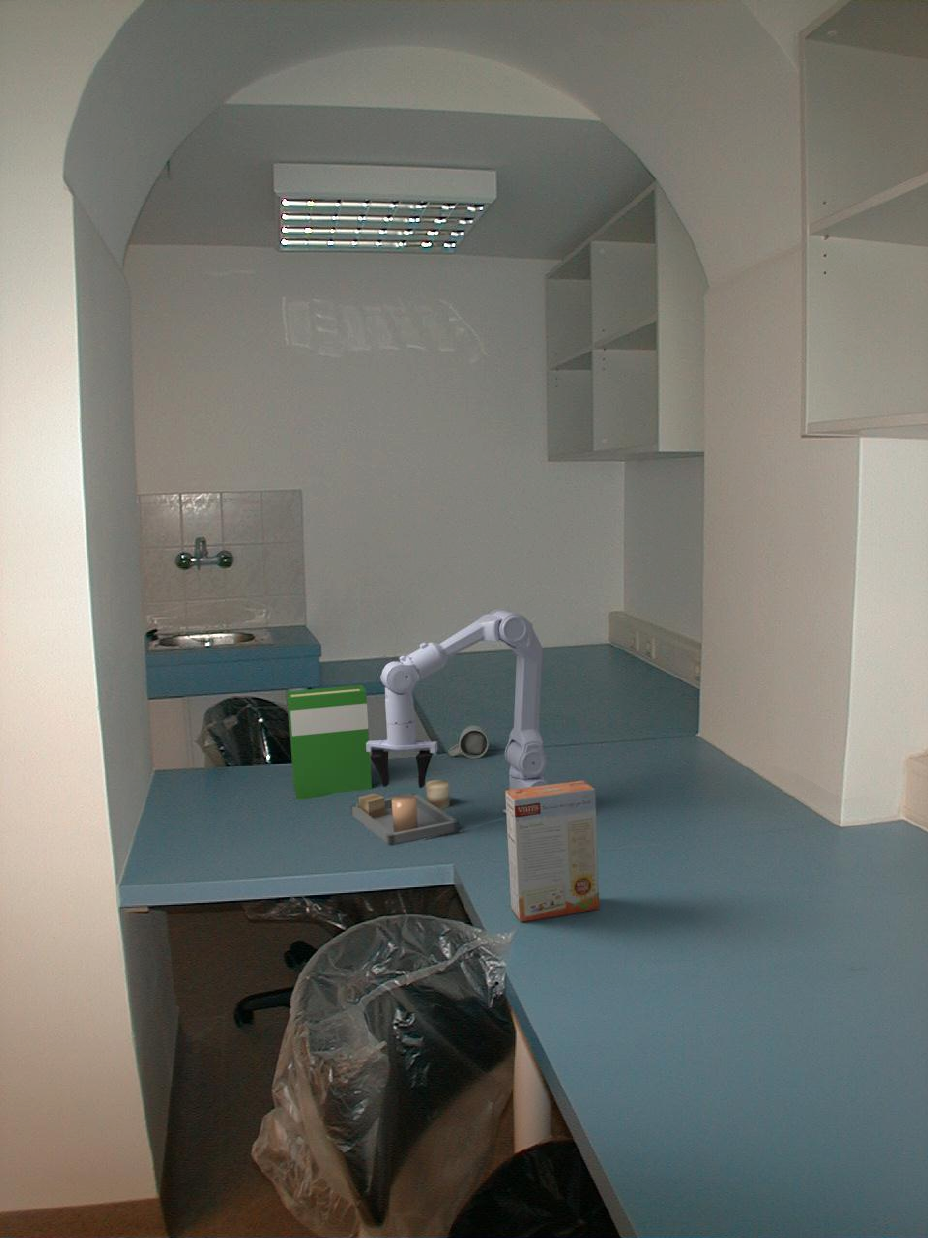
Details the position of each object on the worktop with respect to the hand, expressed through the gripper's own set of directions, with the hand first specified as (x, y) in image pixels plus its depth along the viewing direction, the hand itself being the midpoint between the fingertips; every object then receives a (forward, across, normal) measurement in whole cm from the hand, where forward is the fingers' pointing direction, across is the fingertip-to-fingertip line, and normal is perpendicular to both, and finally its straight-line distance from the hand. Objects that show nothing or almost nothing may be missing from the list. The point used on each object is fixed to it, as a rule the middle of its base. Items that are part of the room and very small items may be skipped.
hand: (403, 786), depth 208 cm
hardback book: (+10, +25, -26) cm, 37 cm away
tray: (+10, +2, -5) cm, 11 cm away
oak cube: (+9, +10, -8) cm, 16 cm away
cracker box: (+10, -35, +34) cm, 50 cm away
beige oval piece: (+10, -3, -16) cm, 19 cm away
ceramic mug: (+10, -1, -58) cm, 59 cm away
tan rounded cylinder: (+9, 0, 0) cm, 9 cm away
